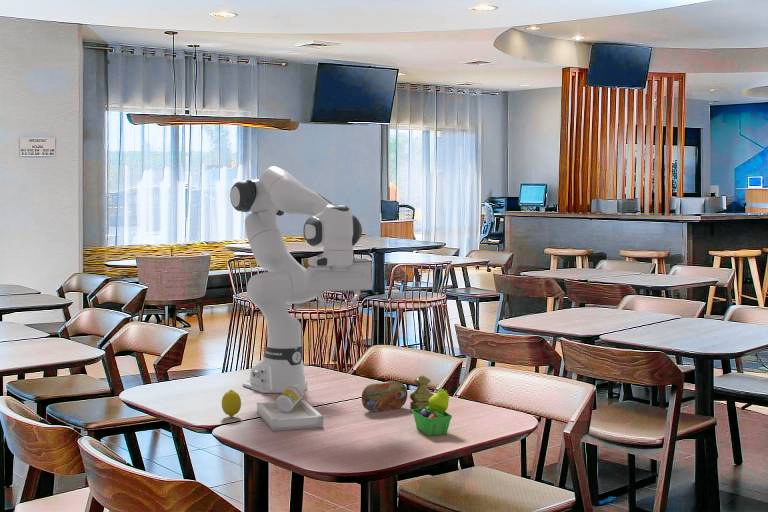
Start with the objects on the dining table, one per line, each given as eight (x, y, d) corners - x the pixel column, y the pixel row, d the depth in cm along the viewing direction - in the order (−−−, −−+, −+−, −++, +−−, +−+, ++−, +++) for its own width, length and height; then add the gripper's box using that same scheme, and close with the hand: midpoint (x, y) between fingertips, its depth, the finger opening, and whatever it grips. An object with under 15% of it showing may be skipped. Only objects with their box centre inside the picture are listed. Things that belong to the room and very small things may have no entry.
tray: (257, 412, 270) (257, 402, 269) (303, 409, 274) (303, 399, 274) (273, 431, 249) (273, 420, 249) (323, 426, 253) (323, 416, 253)
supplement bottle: (275, 411, 266) (290, 395, 275) (292, 414, 265) (306, 399, 273) (275, 394, 264) (290, 379, 273) (292, 398, 263) (306, 383, 271)
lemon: (233, 413, 269) (233, 387, 268) (245, 417, 265) (244, 389, 264) (217, 417, 265) (217, 389, 264) (229, 420, 261) (228, 392, 260)
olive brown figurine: (405, 407, 276) (405, 375, 275) (428, 405, 279) (428, 373, 278) (416, 413, 269) (416, 379, 269) (438, 410, 272) (439, 377, 271)
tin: (365, 414, 268) (365, 385, 268) (359, 412, 271) (359, 384, 270) (408, 407, 276) (408, 380, 276) (402, 405, 279) (402, 378, 278)
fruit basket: (410, 427, 253) (410, 387, 252) (439, 424, 256) (439, 384, 256) (426, 437, 243) (427, 395, 242) (457, 434, 246) (457, 393, 245)
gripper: (368, 257, 278) (368, 303, 279) (302, 259, 271) (302, 305, 272) (374, 259, 272) (375, 305, 273) (308, 260, 265) (308, 308, 266)
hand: (338, 305), depth 273 cm, fingers open, 8 cm apart
